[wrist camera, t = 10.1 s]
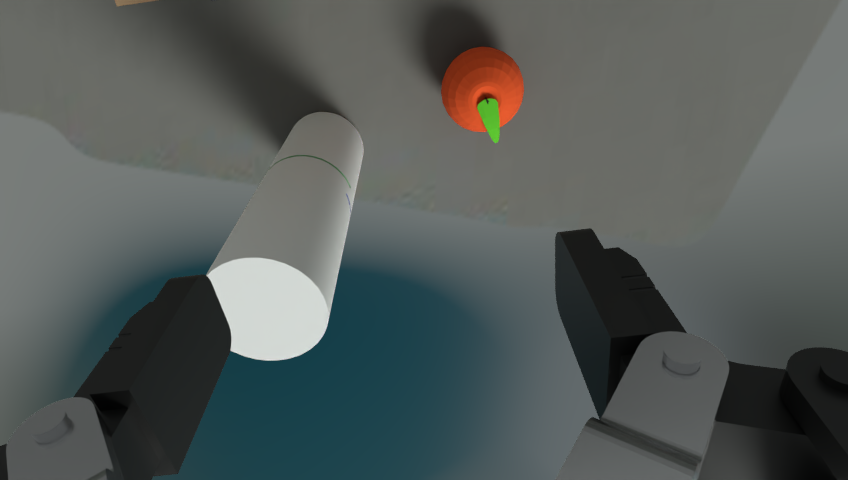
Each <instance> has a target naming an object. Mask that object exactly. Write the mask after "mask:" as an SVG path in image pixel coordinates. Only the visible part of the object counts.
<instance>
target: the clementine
mask: <svg viewBox="0 0 848 480" xmlns="http://www.w3.org/2000/svg"><path fill="white" fill-rule="evenodd" d="M523 93H524V87H523V78H522V75H521V72H520V69H519V67H518V66H517V64H516V63H515V61H514V60H513V59H512V58H511V57H510V56H508V55H507V54H506V53H504V52H502V51H500V50H497V49H494V48H492V47H477V48H472V49H469V50H467V51H465V52H463V53H461V54H460V55H459V56H458V57H456V58H455V59H454V60H453V61H452V62H451V64H450V65H449V67H448V68H447V70H446V73H445V75H444V78H443V81H442V89H441V94H442V100H443V104H444V106H445V108H446V111H447V113H448V114H449V115H450V116H451V118H452V119H453V120H454V121H455V122H456V123H457V124H459V125H460V126H462V127H463V128H465V129H468V130H471V131H477V132H486V131H488V133H489V135H490V137H491V138H492V140H493V141H494V143H497V142H498V140H499V132H500V127H501V126H503V125H504V124H506V123H507V122H508V121H510V120H511V119H512V117H513V116H514V115H515V114H516V112H517V111H518V109H519V107H520V105H521V102H522V98H523Z"/></svg>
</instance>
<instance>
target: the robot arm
mask: <svg viewBox="0 0 848 480" xmlns="http://www.w3.org/2000/svg"><path fill="white" fill-rule="evenodd" d="M555 289H556V301H557V306H558V311H559V314H560V317H561V320H562V322H563V325H564V328H565V330H566V333H567V335H568V338H569V341H570V343H571V346H572V348H573V351H574V354H575V356H576V359H577V362H578V364H579V367H580V369H581V372H582V374H583V377H584V380H585V382H586V385H587V388H588V390H589V393H590V395H591V398H592V401H593V403H594V406H595V409H596V411H597V414H598V416H599V419H600V420H598V419H596V418H594V417H593V418H590V419H589V420H588V421H587V423H586V424H585V426H584V427H583V429H582V431H581V433H580V434H579V436H578V438H577V440H576V442H575V444H574V446H573V447H572V450H571V451H570V453H569V455H568V457H567V458H566V461H565V462H564V464H563V466H562V468H561V470H560V471H559V473H558V475H557V477H556V479H555V480H848V352H845V351H842V350H837V349H832V348H809V349H804V350H801V351H798V352H796V353H795V354H793V355H792V356H791V357H790V359H789V360H788V363H787V367H786V370H785V369H777V368H769V367H760V366H753V365H745V364H739V363H734V362H730V361H727V359H726V357H725V356H724V354H723V353H722V352H721V351H720V350H719V349H718V348H717V347H716V346H715V345H713V344H712V343H710V342H709V341H707V340H705V339H703V338H701V337H698V336H695V335H692V334H688V333H687V332H686V331H685V330H684V328H683V327H682V325H681V324H680V322H679V321H678V319H677V318H676V316H675V315H674V313H673V312H672V310H671V309H670V307H669V306H668V304H667V303H666V302H665V300H664V299H663V297H662V296H661V294H660V293H659V291H658V290H656V289H655V285H654V284H653V282H652V281H651V279H650V278H649V277H647V274H646V272H645V271H644V269H643V268H642V266H641V265H640V264H639V262H638V260H637V259H636V258H634V257H632V256H631V255H629V254H628V253H626V252H625V251H623V250H622V249H620V248H609V249H604V248H603V246H602V245H601V243H600V242H599V240H598V238H597V236H596V235H595V233H594V231H593V230H592V229H581V230H573V231H565V232H558V233H557V234H556V239H555ZM230 349H231V330H230V327H229V324H228V321H227V319H226V317H225V314H224V312H223V309H222V307H221V304H220V302H219V299H218V297H217V295H216V292H215V290H214V287H213V285H212V283H211V281H210V279H209V278H208V277H207V276H206V275H195V276H186V277H178V278H171V279H169V280H168V281H167V282H166V284H165V286H164V287H163V288H162V290H161V291H160V293H159V294H158V295H157V297H156V298H155V300H154V301H153V302H149V303H148V304H147V305H146V306H144V307H143V308H142V309H141V310H139V311H138V312H137V313H136V314H135V315H133V316H132V317H131V318H130V319H129V321H128V322H127V323H126V325H125V326H124V328H123V329H122V330H121V332H120V333H119V337H118V338H116V339H115V340H114V341H113V343H112V344H111V346H110V347H109V351H108V352H105V354H104V355H103V357H102V358H101V360H100V361H99V362H98V364H97V365H96V366H95V368H94V369H93V371H92V372H91V373H90V375H89V376H88V378H87V379H86V380H85V382H84V383H83V384H82V386H81V387H80V389H79V390H78V392H77V393H76V394H75V396H74V397H73V398H68V399H64V400H60V401H57V402H55V403H52V404H50V405H48V406H46V407H44V408H42V409H41V410H39V411H37V412H36V413H34V414H33V415H32V416H30V417H29V418H28V419H26V420H25V421H24V422H23V423H22V424H21V425H20V426H19V427H18V428H17V429H16V430H15V431H14V433H13V434H12V435H11V437H10V439H9V441H8V443H7V444H5V445H2V446H0V480H151V479H152V477H153V476H161V475H171V474H178V472H179V470H180V467H181V465H182V463H183V461H184V458H185V456H186V453H187V451H188V449H189V447H190V444H191V442H192V439H193V437H194V435H195V432H196V430H197V428H198V425H199V423H200V421H201V418H202V416H203V413H204V411H205V409H206V407H207V404H208V402H209V400H210V397H211V395H212V393H213V390H214V388H215V385H216V383H217V381H218V379H219V376H220V374H221V372H222V369H223V367H224V364H225V362H226V360H227V357H228V355H229V353H230Z"/></svg>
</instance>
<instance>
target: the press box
mask: <svg viewBox="0 0 848 480" xmlns="http://www.w3.org/2000/svg"><path fill="white" fill-rule="evenodd" d="M150 1H157V0H115V2H116V5H117V6H123V5H130V4H137V3H143V2H150ZM211 1H215V0H211Z"/></svg>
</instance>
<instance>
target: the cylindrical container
mask: <svg viewBox="0 0 848 480" xmlns="http://www.w3.org/2000/svg"><path fill="white" fill-rule="evenodd" d="M362 158H363V142H362V139H361V136H360V134H359V132H358V131H357V129H356V128H355V127H354V125H353V124H351V123H350V122H349V121H348V120H347V119H345V118H343V117H342V116H340V115H337V114H334V113H330V112H316V113H311V114H309V115H306V116H304V117H303V118H302V119H300V120H299V121H298V122H297V123H296V124H295V125H294V127H293V129H292V130H291V132H290V134H289V135H288V137H287V139H286V140H285V142H284V144H283V145H282V147H281V149H280V150H279V152H278V154H277V155H276V157H275V159H274V161H273V162H272V164H271V166H270V167H269V169H268V171H267V172H266V174H265V176H264V177H263V179H262V181H261V183H260V184H259V186H258V188H257V189H256V191H255V193H254V194H253V196H252V198H251V200H250V201H249V203H248V205H247V206H246V208H245V210H244V211H243V213H242V215H241V216H240V218H239V220H238V222H237V223H236V225H235V227H234V229H233V230H232V232H231V234H230V236H229V237H228V239H227V240H226V242H225V244H224V245H223V247H222V249H221V250H220V252H219V254H218V256H217V258H216V259H215V261H214V262H213V264H212V266H211V268H210V269H209V271H208V273H207V274H206V276H207V277H208V278H209V279H210V281H211V283H212V285H213V287H214V290H215V292H216V295H217V297H218V299H219V302H220V304H221V307H222V309H223V312H224V314H225V317H226V319H227V321H228V324H229V327H230V330H231V349H230V350H231V351H233V352H235V353H238V354H240V355H242V356H246V357H249V358H253V359H260V360H283V359H289V358H292V357H296V356H299V355H301V354H303V353H305V352H306V351H308V350H310V349H311V348H312V347H313V346H314V345H316V344H317V343H318V342H319V340H320V339H321V338H322V336H323V335H324V333H325V330H326V328H327V325H328V320H329V315H330V310H331V305H332V300H333V296H334V291H335V286H336V281H337V276H338V272H339V266H340V262H341V258H342V253H343V248H344V244H345V239H346V234H347V229H348V225H349V220H350V215H351V210H352V206H353V201H354V196H355V191H356V186H357V182H358V177H359V172H360V168H361V163H362Z"/></svg>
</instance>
